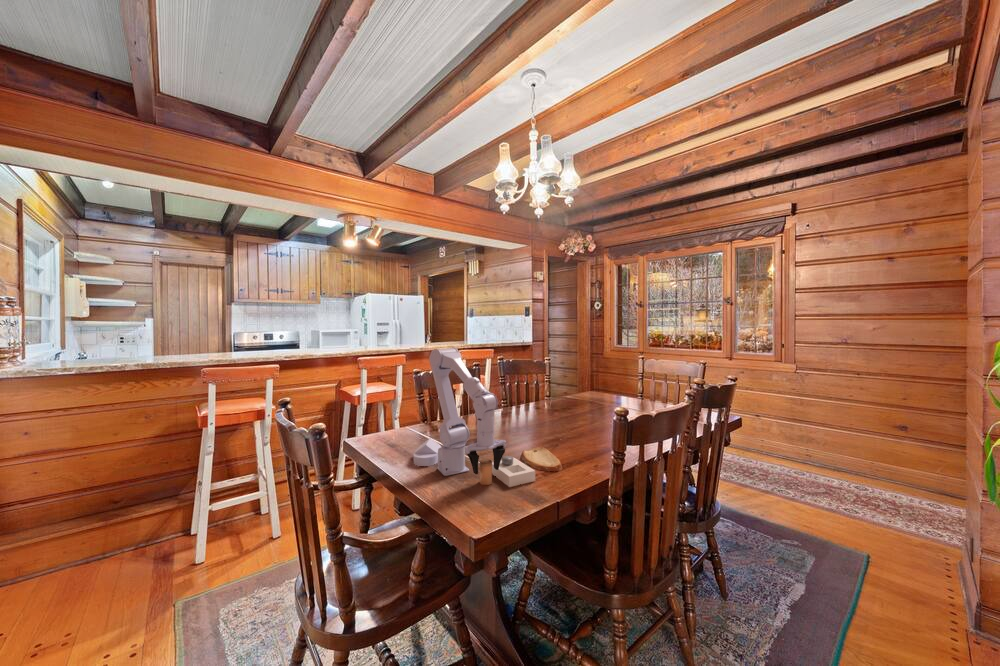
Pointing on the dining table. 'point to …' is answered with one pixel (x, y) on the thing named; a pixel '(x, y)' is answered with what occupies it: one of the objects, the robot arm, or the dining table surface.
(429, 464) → the wedge on round base
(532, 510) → the dining table surface
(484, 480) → the orange tapered cylinder
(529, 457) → the bread slice
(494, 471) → the cream block with recess
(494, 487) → the dining table surface
